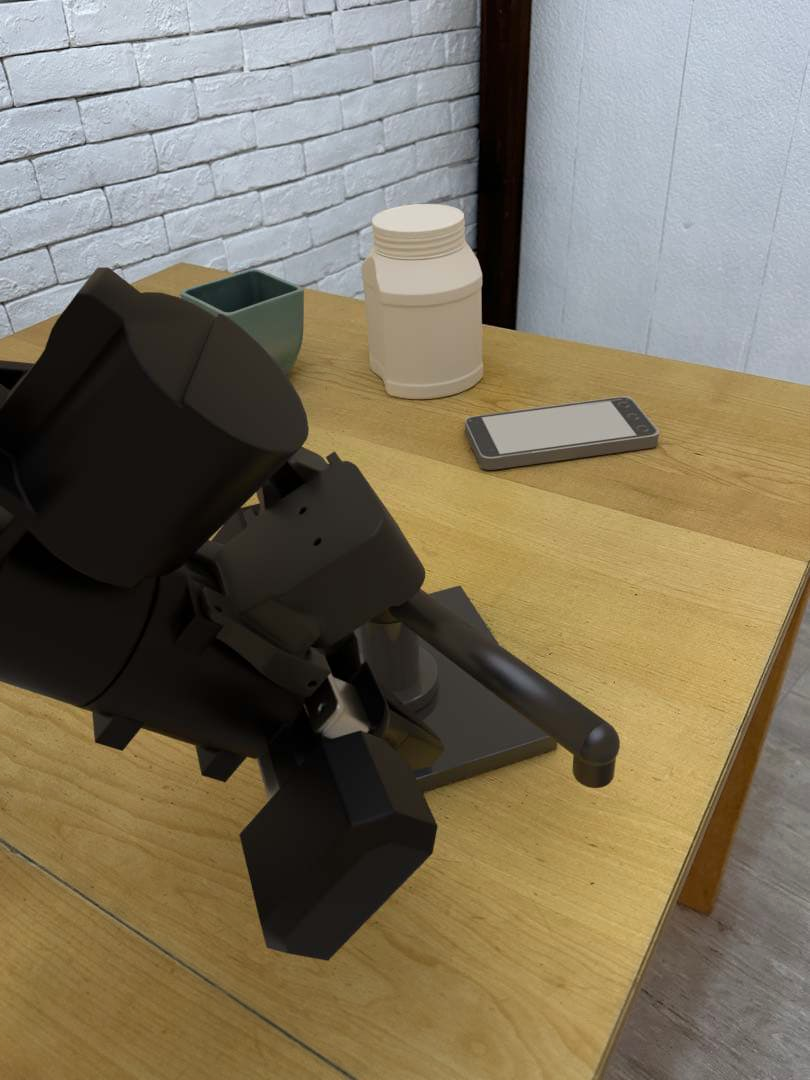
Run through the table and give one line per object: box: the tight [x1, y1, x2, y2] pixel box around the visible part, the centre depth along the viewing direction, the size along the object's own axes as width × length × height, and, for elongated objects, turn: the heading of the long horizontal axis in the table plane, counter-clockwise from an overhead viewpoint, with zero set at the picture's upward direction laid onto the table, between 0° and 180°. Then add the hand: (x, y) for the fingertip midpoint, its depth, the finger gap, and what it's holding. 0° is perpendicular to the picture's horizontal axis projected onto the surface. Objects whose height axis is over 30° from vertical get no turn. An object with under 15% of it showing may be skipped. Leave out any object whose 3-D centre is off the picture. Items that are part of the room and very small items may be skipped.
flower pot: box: [178, 268, 305, 376], centre depth 88 cm, size 9×9×9 cm
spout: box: [369, 588, 621, 789], centre depth 44 cm, size 18×4×3 cm, turn 39°
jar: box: [360, 203, 484, 400], centre depth 84 cm, size 12×10×15 cm
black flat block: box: [354, 585, 558, 793], centre depth 51 cm, size 14×14×7 cm
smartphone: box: [464, 395, 660, 471], centre depth 76 cm, size 7×1×15 cm
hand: (435, 751), depth 39 cm, fingers closed
